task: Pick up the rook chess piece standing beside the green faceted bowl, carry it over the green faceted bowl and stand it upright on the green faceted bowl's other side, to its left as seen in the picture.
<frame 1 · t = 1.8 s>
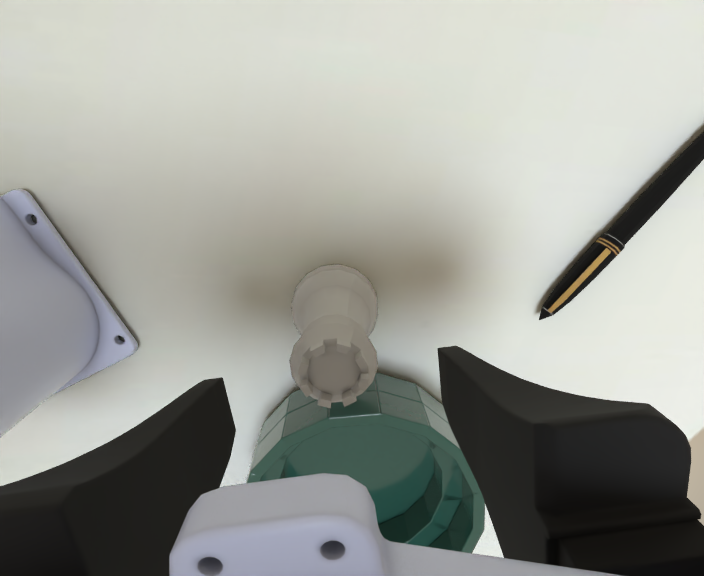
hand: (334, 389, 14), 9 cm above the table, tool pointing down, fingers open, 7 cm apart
rook chess piece: (335, 301, 23), on the table
green faceted bowl: (358, 459, 25), on the table
fountain pen: (629, 209, 22), on the table
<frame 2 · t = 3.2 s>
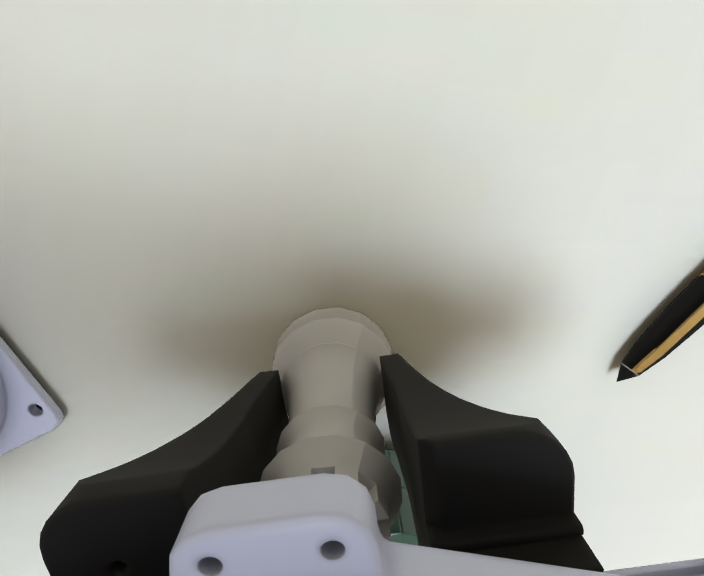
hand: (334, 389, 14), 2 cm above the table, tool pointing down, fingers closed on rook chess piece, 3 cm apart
rook chess piece: (333, 355, 16), on the table, touching gripper
green faceted bowl: (366, 556, 19), on the table
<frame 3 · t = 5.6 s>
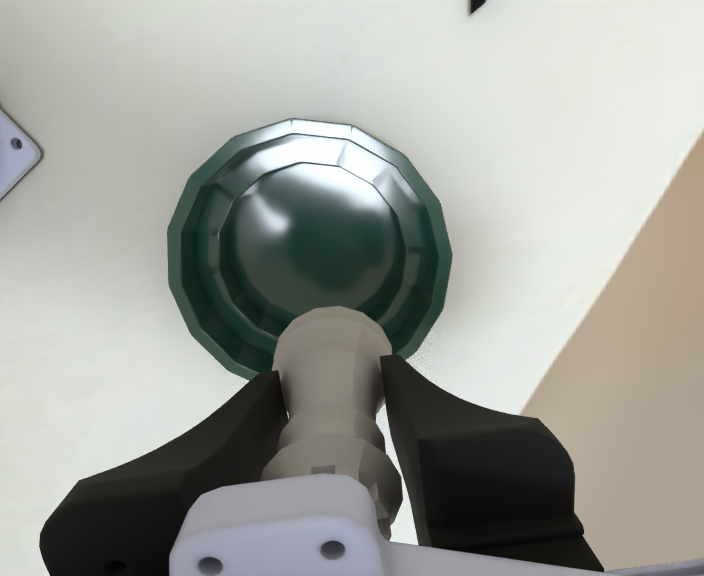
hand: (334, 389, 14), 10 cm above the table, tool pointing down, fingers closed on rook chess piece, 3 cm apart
rook chess piece: (333, 354, 16), point 7 cm above the table, touching gripper
green faceted bowl: (315, 249, 23), on the table
when the fingers open (2 cm above the table, at t = 8.3 s): rook chess piece stays where it is, on the table.
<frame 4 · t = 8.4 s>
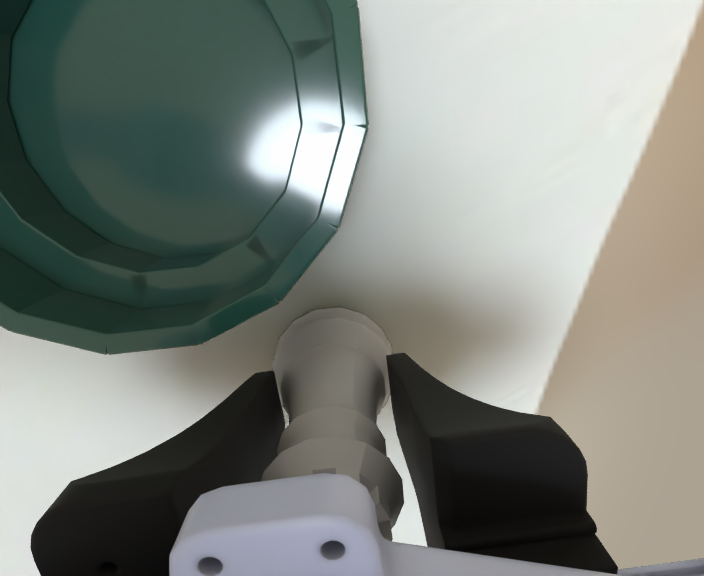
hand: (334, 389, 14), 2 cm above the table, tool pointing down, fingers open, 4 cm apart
rook chess piece: (334, 355, 16), on the table
green faceted bowl: (166, 117, 14), on the table
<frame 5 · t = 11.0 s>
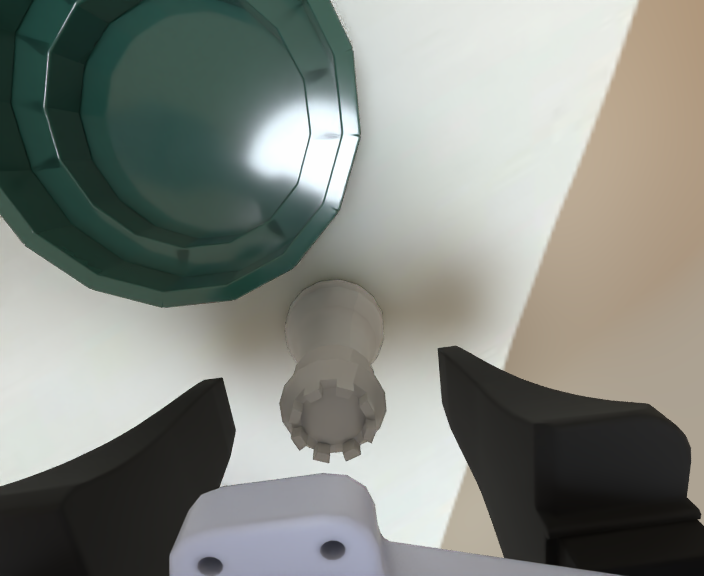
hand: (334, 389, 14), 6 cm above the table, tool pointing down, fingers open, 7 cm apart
rook chess piece: (335, 321, 20), on the table
green faceted bowl: (202, 126, 17), on the table
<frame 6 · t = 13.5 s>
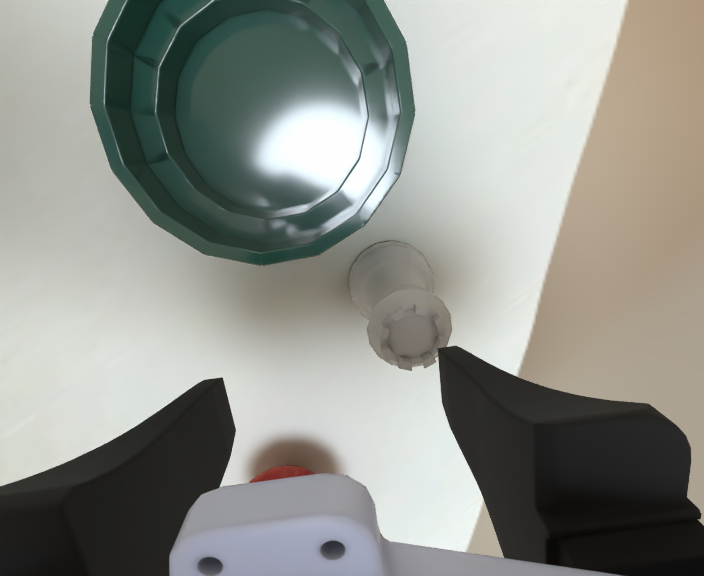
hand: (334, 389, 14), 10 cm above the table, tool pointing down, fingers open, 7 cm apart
rook chess piece: (388, 278, 23), on the table
green faceted bowl: (272, 119, 21), on the table
onion: (293, 473, 27), on the table
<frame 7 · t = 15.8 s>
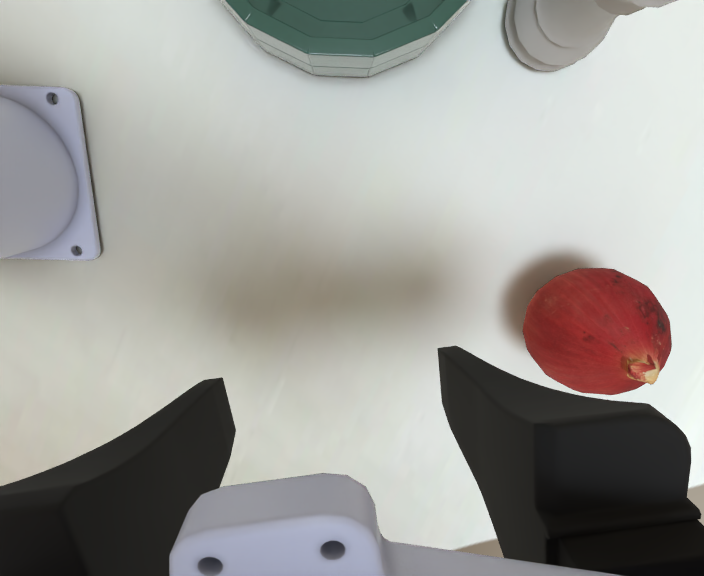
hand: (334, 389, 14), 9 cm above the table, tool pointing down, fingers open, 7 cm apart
rook chess piece: (547, 21, 20), on the table
onion: (551, 302, 24), on the table
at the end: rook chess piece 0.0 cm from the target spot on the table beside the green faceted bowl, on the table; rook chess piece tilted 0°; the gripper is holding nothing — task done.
